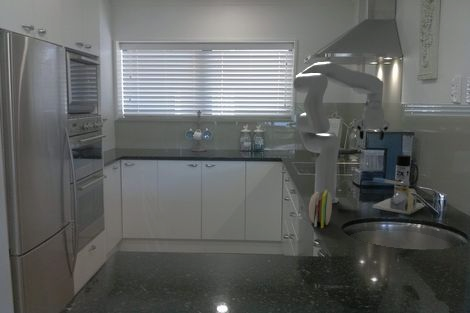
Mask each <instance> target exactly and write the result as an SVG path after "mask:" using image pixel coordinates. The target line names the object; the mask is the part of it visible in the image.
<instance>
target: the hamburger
mask: <svg viewBox="0 0 470 313" xmlns="http://www.w3.org/2000/svg"><path fill="white" fill-rule="evenodd" d="M327 193H328V194H327ZM312 195H313V196H312ZM312 195H311V196H312V198H311V197H310V201H309V205H308V217H309V220H310V221H311V222H312V223H313V224H314V228H317V226H318V223H319V225H320V229H324V226H327V225H328V224H329V223H330V220H331V216H332V211H333V210H332V208H333V203H332V199H331V194H330V193H329V192H328V190H325V192H322V194H321V200H320V198H319V196H320V193H318V192H316V193H314V194H312Z"/></svg>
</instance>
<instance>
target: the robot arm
mask: <svg viewBox="0 0 470 313" xmlns="http://www.w3.org/2000/svg"><path fill="white" fill-rule="evenodd" d="M329 82H331V83H333V84H335V85H337V86H341V87H342V88H347V89H353V91H354V93H355V94H358V95H366V99H365V102H363V103H362V105H363V106H365V107H364V109H363V113H362V118H360V119H359V120H357V121H355V122H354V124H355V126H356V129H357V130H358V131H359V136H358V137H359V139H360V140H364V135H365V133H364V132H365V131H364V130H365V129H366V128H367V129H379V135H378V136H379V137H378V139H379V140H380V141H383V139H384V138H385V137H384V136H385V132H386V131H387V130H388V129H389V127H390V125H391V123H390V122H388V121H387V120H385V111H384V108H383V107H382V105H383V94H384V81H383V80H381V79H380V78H379V77H377V76H374V75H373V74H370V73H367V72H362V71H358V70H354V69H350V68H348V67H345V66H344V65H341V64H339V63H336V62H334V61H322V62H316V63H313V64H312V65H311V66H308V67H307V68H306V69H304V70H303V71H301V72H300V73H298V74H297V75H296V76H295V77H294V80H293V88H294V89H295V91H296V92H298V93H301V94H306V95H305V99H304V102H303V109H304V112H303V113H301V114H299V115H298V118H297V122H296V127H297V131H298V134H299V136H300V138H301V140H302V143H303V145H304V148H305V149H306V150H307V151H309V152H311V153H315V154H317V153H318V154H319V155H318V157H317V159H316V161H315V175H314V193H316V192H318V193H320V196H319V198H320V200H321V194H322V192H325V190H328V192H329V193H330V194H331V199H332V204H337V203H338V202H339V198H338V197H336V188H337V186H336V185H337V168H338V157H339V151H340V149H341V140H340V138H339V136H337V135H335V134H333V133H330V132H329V131H330V128H331V123H330V120H329V119H330V118H329V117H328V114H327V112H326V109H325V106H324V94H326V91H327V88H328V85H329ZM360 123H361V126H360ZM328 132H329V133H328ZM327 194H328V193H327ZM312 196H313V194H312V195H310V199H311V198H312Z"/></svg>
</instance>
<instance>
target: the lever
mask: <svg viewBox="0 0 470 313" xmlns="http://www.w3.org/2000/svg"><path fill="white" fill-rule="evenodd" d="M372 182H374V183H380V184H392V185H395V184H397V185H401V186H409V187H410V181H409V182H406V181H401V182H400V181H395V180H391V179H386V178H382V177H380V178H379V177H373V178H372Z"/></svg>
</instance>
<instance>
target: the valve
mask: <svg viewBox="0 0 470 313" xmlns="http://www.w3.org/2000/svg"><path fill="white" fill-rule="evenodd" d="M394 190H395V193H393V194H392V197H391V198H386V199H384V200H383V201H382V200H381V201H379V202H377V203H375V204H373V205H372V209H377V210H381V211H386V212H387V211H388V212H392V213H398V214H404V215H412V214H414V213H415V212H417V211H419V210H420V209H423V208H424V207H425V204H424V203H421V202H417V198H418V197H417V198H416V197H414V196H413V195H412V194H411V193H410V192H413V193H416V194H417V191H416V190H415V188H407V186H403V188H402V187H400V188H398V189H395V188H394ZM423 204H424V205H423Z"/></svg>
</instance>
